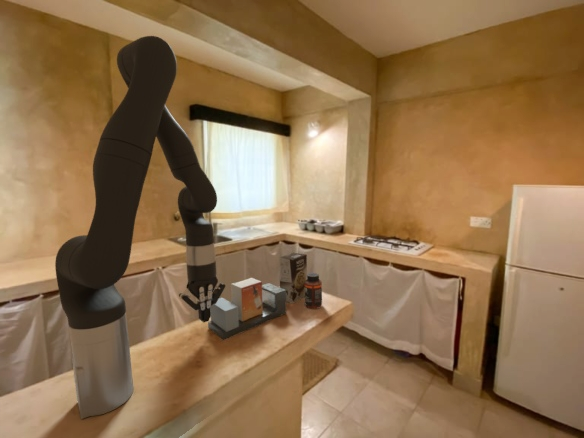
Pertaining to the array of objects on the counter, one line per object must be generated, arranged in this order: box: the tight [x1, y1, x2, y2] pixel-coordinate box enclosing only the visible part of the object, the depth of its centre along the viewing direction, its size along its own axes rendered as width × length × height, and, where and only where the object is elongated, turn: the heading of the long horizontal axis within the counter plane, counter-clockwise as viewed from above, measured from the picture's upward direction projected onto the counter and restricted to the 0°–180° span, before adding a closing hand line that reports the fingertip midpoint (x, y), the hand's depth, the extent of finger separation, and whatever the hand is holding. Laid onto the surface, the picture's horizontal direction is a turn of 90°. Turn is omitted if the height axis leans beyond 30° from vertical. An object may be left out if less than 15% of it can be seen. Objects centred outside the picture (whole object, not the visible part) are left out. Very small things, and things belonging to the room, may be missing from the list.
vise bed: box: [207, 282, 287, 341], centre depth 88 cm, size 23×9×8 cm, turn 133°
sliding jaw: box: [210, 297, 239, 332], centre depth 82 cm, size 4×9×6 cm, turn 43°
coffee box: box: [279, 252, 308, 304], centre depth 104 cm, size 9×6×16 cm
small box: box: [230, 277, 263, 322], centre depth 87 cm, size 8×6×10 cm
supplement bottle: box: [304, 272, 323, 310], centre depth 97 cm, size 6×6×11 cm
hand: (204, 320), depth 78 cm, fingers closed
